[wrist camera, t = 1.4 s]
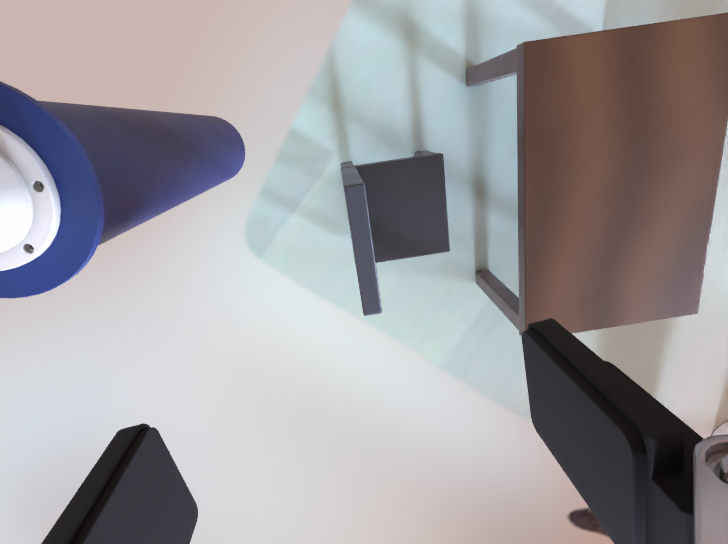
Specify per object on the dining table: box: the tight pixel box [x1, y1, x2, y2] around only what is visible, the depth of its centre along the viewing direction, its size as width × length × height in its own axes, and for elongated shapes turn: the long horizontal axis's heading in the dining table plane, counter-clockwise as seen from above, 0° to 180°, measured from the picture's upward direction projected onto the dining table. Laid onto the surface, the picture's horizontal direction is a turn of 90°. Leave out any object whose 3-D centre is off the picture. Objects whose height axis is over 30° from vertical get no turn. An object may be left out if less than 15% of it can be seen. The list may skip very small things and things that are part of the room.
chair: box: [341, 150, 450, 316], centre depth 28 cm, size 7×7×14 cm
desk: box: [466, 13, 728, 336], centre depth 30 cm, size 12×18×10 cm, turn 8°
